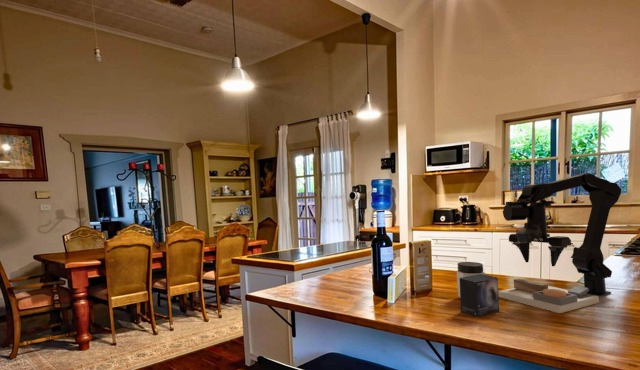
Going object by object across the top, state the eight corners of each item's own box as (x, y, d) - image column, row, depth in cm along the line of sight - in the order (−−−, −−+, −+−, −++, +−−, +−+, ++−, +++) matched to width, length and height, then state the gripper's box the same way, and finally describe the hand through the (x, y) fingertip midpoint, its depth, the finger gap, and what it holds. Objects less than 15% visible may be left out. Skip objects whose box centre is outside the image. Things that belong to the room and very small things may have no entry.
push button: (551, 294, 108) (550, 287, 108) (571, 298, 102) (570, 292, 102) (538, 297, 105) (538, 290, 105) (558, 301, 100) (558, 295, 100)
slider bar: (519, 287, 119) (519, 278, 119) (548, 293, 110) (547, 284, 110) (514, 288, 118) (513, 279, 118) (542, 294, 109) (542, 285, 109)
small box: (478, 317, 97) (476, 281, 98) (459, 311, 103) (457, 277, 103) (501, 311, 102) (498, 276, 102) (482, 305, 108) (480, 273, 108)
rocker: (577, 288, 110) (576, 285, 110) (589, 290, 107) (588, 287, 107) (568, 293, 108) (567, 290, 108) (580, 296, 105) (579, 293, 105)
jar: (475, 303, 110) (473, 267, 110) (454, 298, 117) (451, 264, 117) (490, 298, 115) (488, 263, 115) (469, 293, 121) (466, 260, 122)
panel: (536, 288, 124) (535, 278, 124) (599, 302, 106) (597, 289, 106) (499, 297, 116) (498, 285, 116) (559, 313, 98) (558, 299, 98)
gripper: (497, 220, 123) (500, 262, 122) (549, 222, 106) (552, 271, 105) (517, 218, 127) (520, 259, 126) (570, 220, 110) (574, 267, 109)
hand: (539, 264), depth 117 cm, fingers open, 9 cm apart
